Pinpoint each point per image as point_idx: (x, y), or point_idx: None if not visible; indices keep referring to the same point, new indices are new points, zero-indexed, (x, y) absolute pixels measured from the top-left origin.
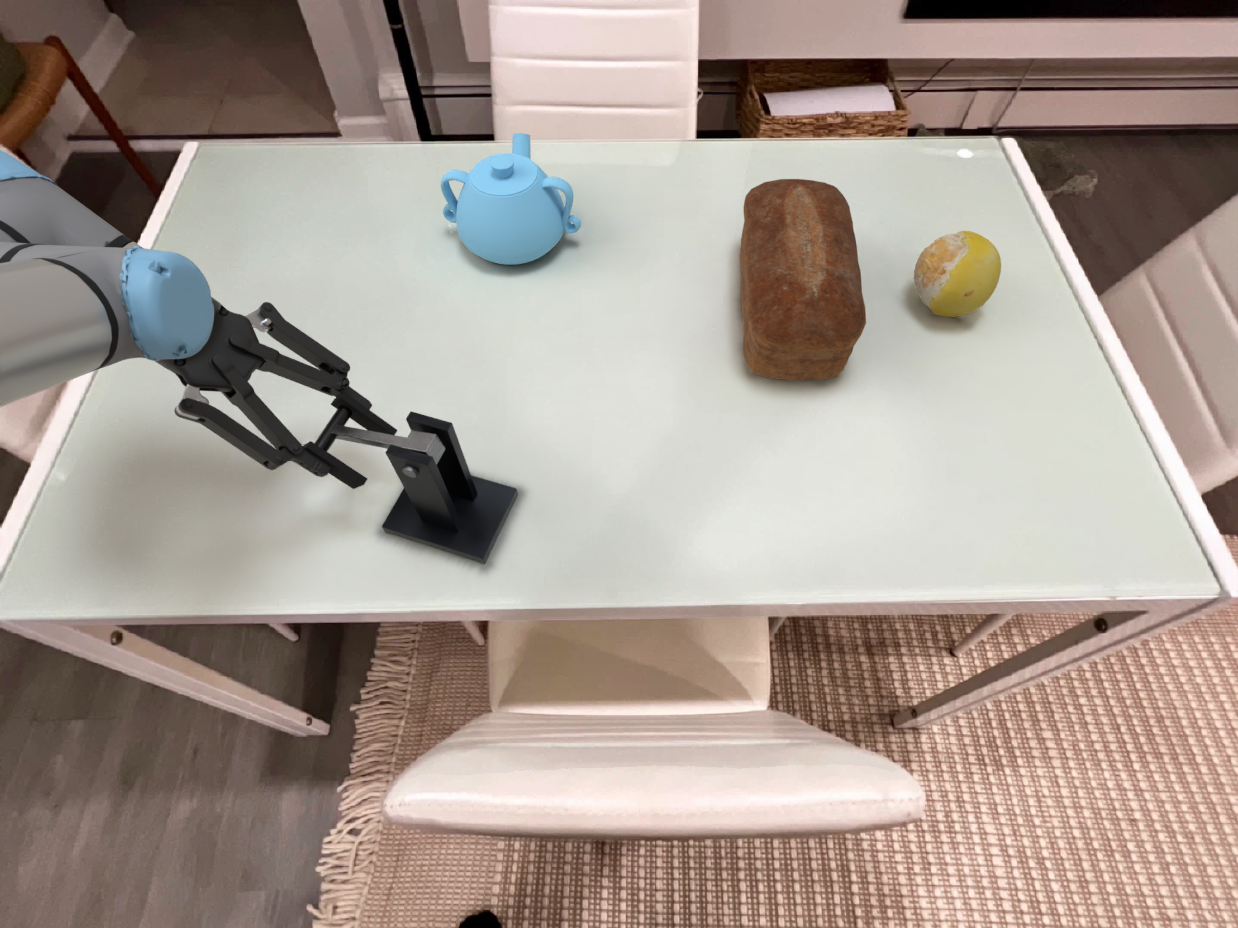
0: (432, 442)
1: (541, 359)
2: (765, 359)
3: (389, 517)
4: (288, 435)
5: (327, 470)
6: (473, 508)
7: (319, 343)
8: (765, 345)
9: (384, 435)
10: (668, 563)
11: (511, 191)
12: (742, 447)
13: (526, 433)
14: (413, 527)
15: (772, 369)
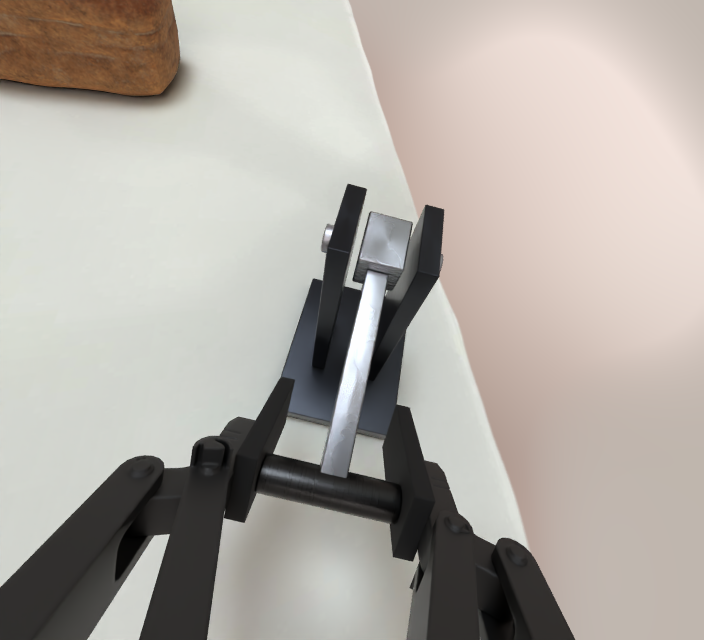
0: (388, 216)
1: (73, 276)
2: (160, 53)
3: (376, 428)
4: (445, 555)
5: (429, 464)
6: (346, 320)
7: (19, 568)
8: (151, 28)
9: (359, 328)
10: (373, 173)
11: None
12: (249, 119)
13: (217, 284)
14: (385, 390)
15: (167, 66)
